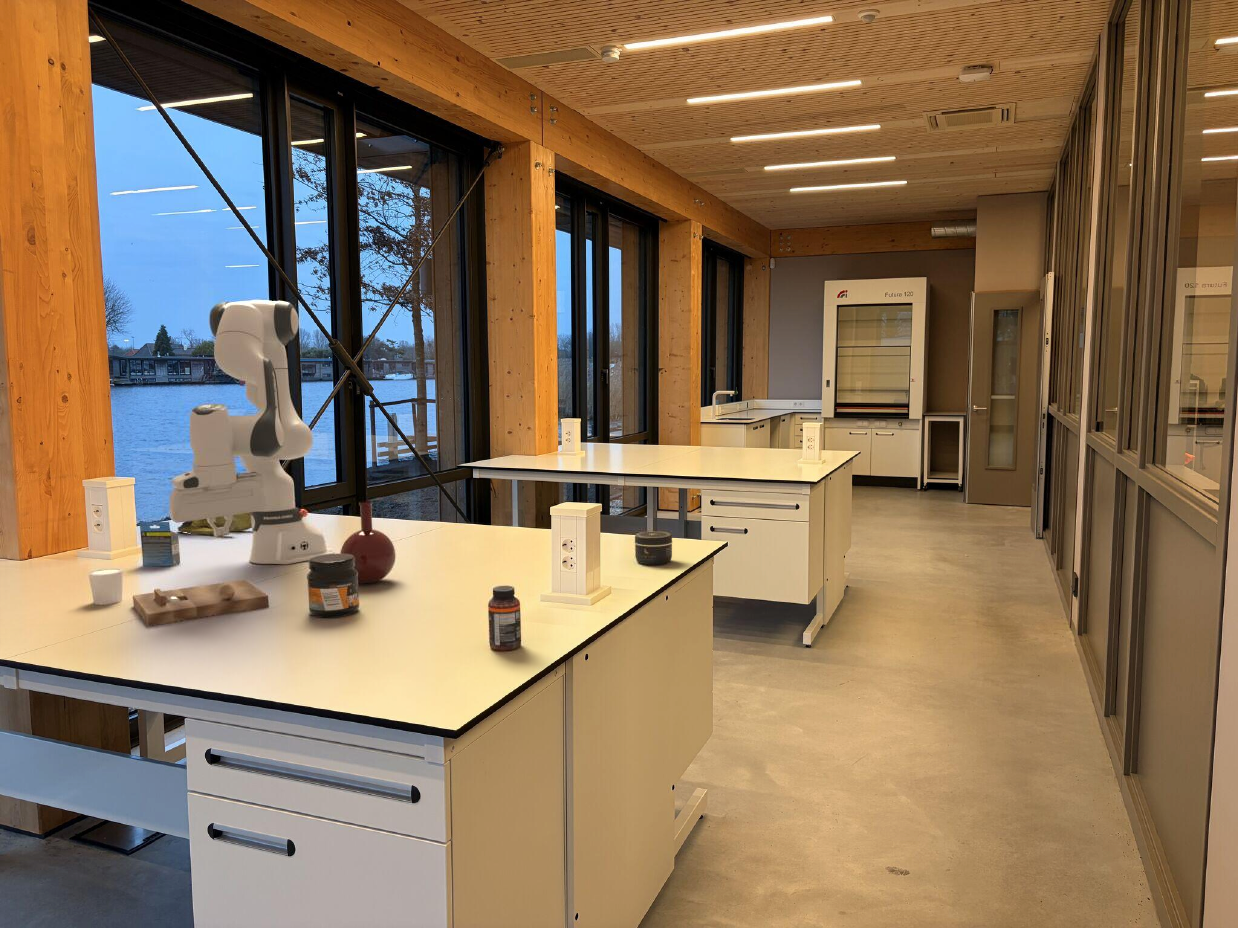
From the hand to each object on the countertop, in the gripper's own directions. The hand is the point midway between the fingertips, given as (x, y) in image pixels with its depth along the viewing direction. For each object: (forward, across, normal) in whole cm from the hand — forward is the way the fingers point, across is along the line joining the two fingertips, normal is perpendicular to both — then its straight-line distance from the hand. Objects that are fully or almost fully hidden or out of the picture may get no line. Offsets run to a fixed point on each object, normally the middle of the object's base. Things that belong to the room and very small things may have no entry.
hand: (221, 535), depth 206 cm
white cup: (+14, +23, -14) cm, 30 cm away
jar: (+18, -99, +35) cm, 106 cm away
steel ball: (+12, +12, +5) cm, 18 cm away
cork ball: (+10, +3, +12) cm, 16 cm away
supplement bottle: (+14, -31, +74) cm, 82 cm away
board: (+14, +7, +5) cm, 17 cm away
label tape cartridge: (+16, +5, -50) cm, 53 cm away
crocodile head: (+18, -20, -95) cm, 99 cm away
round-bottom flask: (+16, -31, +7) cm, 36 cm away
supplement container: (+15, -15, +29) cm, 36 cm away
